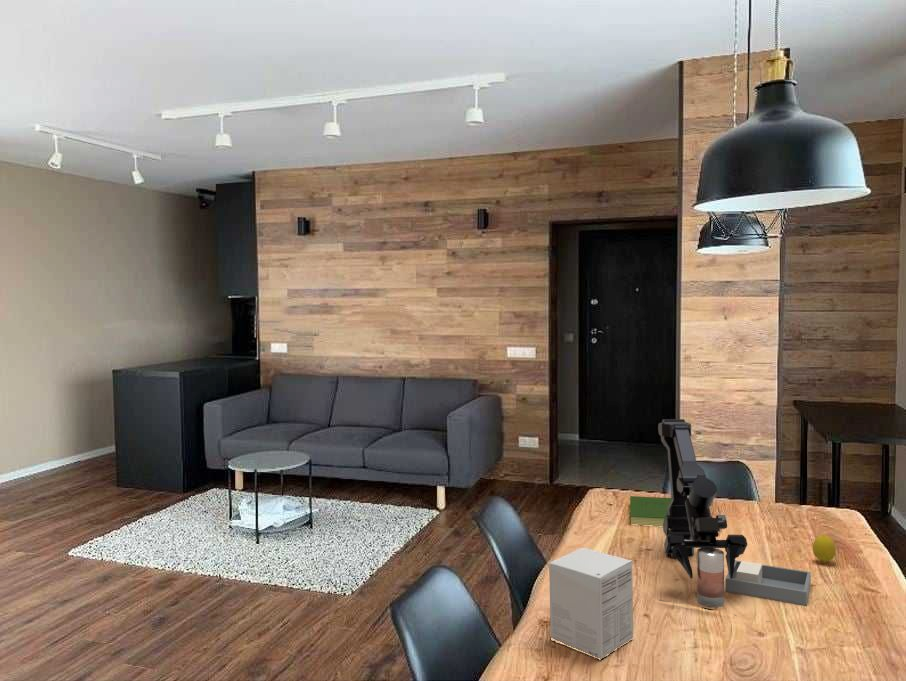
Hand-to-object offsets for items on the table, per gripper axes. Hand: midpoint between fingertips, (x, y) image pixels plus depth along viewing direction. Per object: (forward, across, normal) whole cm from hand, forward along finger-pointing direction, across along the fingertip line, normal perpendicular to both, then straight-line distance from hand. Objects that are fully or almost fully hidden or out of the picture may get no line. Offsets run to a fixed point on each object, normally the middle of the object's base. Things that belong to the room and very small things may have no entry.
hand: (711, 577), depth 166 cm
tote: (-2, +16, +12) cm, 20 cm away
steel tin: (+4, 0, +6) cm, 7 cm away
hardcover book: (-46, +1, +56) cm, 73 cm away
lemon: (-16, +38, +26) cm, 49 cm away
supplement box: (+18, -30, -8) cm, 36 cm away
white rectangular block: (-5, +13, +13) cm, 19 cm away
